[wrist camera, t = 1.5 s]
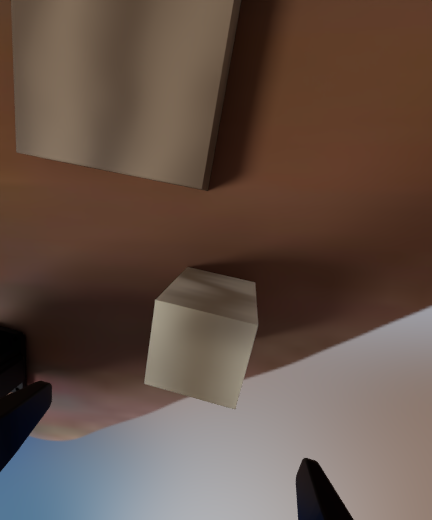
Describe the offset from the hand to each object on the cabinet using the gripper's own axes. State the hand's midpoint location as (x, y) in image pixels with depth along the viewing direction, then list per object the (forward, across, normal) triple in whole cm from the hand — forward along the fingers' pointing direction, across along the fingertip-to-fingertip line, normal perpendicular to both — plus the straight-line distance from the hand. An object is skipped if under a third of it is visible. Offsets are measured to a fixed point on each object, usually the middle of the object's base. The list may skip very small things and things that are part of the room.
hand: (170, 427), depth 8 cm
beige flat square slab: (+10, +8, -14) cm, 19 cm away
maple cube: (+10, 0, 0) cm, 10 cm away
